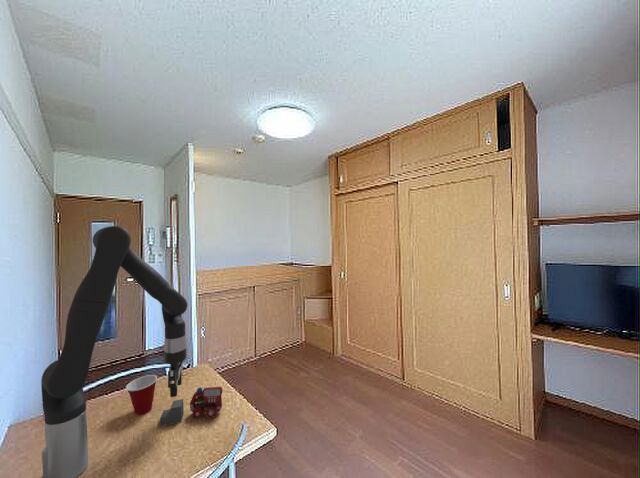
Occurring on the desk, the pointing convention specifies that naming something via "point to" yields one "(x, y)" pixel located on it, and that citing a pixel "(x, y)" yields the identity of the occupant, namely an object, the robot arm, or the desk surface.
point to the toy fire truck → (206, 402)
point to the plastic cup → (142, 393)
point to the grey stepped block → (173, 413)
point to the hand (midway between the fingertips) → (176, 390)
